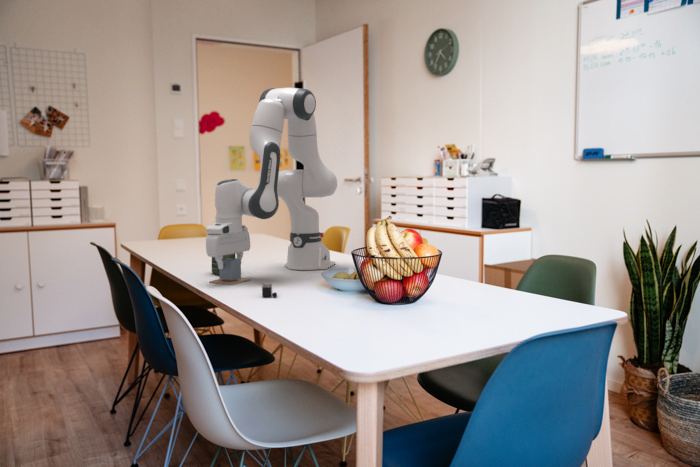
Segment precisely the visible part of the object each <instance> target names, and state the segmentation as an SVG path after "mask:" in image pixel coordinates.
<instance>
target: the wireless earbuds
mask: <svg viewBox="0 0 700 467" xmlns="http://www.w3.org/2000/svg"><path fill="white" fill-rule="evenodd" d="M261 291H262V293H261V294H262V296H261V297H262V298H271V297H272V298H276V297H278V294H277V292H273V284H272V283H263V284H262V286H261Z"/></svg>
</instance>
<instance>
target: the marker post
mask: <svg viewBox="0 0 700 467" xmlns="http://www.w3.org/2000/svg"><path fill="white" fill-rule="evenodd" d="M249 281H251V278H247V277H241V278H239V279H235V280H222V279H220V278H217V279H214V280H213V279H212V280H210V281H208V282H209V284H219V285H220V284H221V285H230V286H235V285H238V284H242V283H246V282H249Z"/></svg>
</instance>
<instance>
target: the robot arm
mask: <svg viewBox="0 0 700 467" xmlns="http://www.w3.org/2000/svg"><path fill="white" fill-rule="evenodd" d="M258 102H259V103H258V104H257V107H256V110H255V111H254V114H253V117H252V121H251V126H250V130H249V141H248V142H249V146H250V148H251V150H252V151H253V153H255V154H256V155H257V156H258V158H259V159H260V167H259V168H260V169H259V176H258V184H257V186H256V188H253V187H250V186H248V185H246V184H244V183H242V182H241V181H240V180H239V179H236V178H230V179H224V180H221V181H219V182H218V183H217V184H216V186H215V191H214V192H215V193H214V196H215V197H214V206H215V211H216V214H215V221H214V222H212V223H211V224H210V225H208V226H206V227H205V233H206V234H207V235H206V237H205V250H206V255H207V256H208V257H210V258H212V257H215V259H216V261H217V263H218V269H224V268H225V263H223V261H222V259H223V255H229V254H234V253H235V256H236V259H241V261H242V259H243V257H244V253H245V252H249V251H250V249H251V237H250V233H249V230H248V227H247V226H246V225H244V224H243V215H244V216H248V217H251V218H252V217H253V218H258V219H260V220H268V219H270V218H273V217H274V216H275V214H276V213H277V211H278V210H279V204H280V203H279V202H280V200H279V198H280V199H281V200H282V201H283V202H284V203H285V205H286V207H287V209H288V212H289V218H290V233H289V241H290V244H289V245H288V248H287V256H286V257H287V259H286V260H287V261H286V263H284V267H285V268H287V269H288V270H295V271H313V270H315V271H316V270H327V269H329V268H331V267H333V266H335V265H336V264H337V262H336V261H333V260H331V255H330V250H329V248H328V247H327V246H326V245H325V244H324V243H323V242H322V238H324V237H325V234H324V232H320V218H319V217H320V216H319V213H318V211H317V210H316V209H315V208H313V207H312V206H309V205H307V204H306V203H305V202H304V199H305V198H324V197H329V196H333V195H334V193H335V192H336V191H337V187H338V179H337V176H336V175H335V173H334V172H333V171H332V170H330V168H328V167H327V166H326V165H325V163H323V161H322V159H321V157H320V152H319V148H318V140H317V139H318V136H317V135H318V134H317V122H316V119H315V118H316V117H315V111H316V109H317V108H316V107H317V101H316V97H315V94H313V92H312V91H311V90H310V89H306V88H302V87H301V88H298V87H287V86H286V87H279V88H278V87H277V88H274V87H272V88H268V89H265V90H264V91H263V92H262V93H261V95H260V97H259V101H258ZM285 120H287V143H288V144H287V145H288V146H287V147H288V148H287V149H288V154H289V156H290V157H291V158H292V159H294V160H295V161H297V162H299V163H301V164H302V165H303V166H304V168H305V169H284V170H280V165H281V141H282V136H283V131H284V124H285ZM335 263H336V264H335ZM334 264H335V265H334ZM332 265H333V266H332ZM330 266H331V267H330ZM328 267H329V268H328Z"/></svg>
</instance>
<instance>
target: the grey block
mask: <svg viewBox="0 0 700 467" xmlns="http://www.w3.org/2000/svg"><path fill="white" fill-rule="evenodd" d="M222 261H223V263H225V268H224V269H219V275H218V277H219V278H218V279H222V280H235V279H239V278H242V260H241V259H231V258H228V259H223V260H222Z"/></svg>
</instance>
